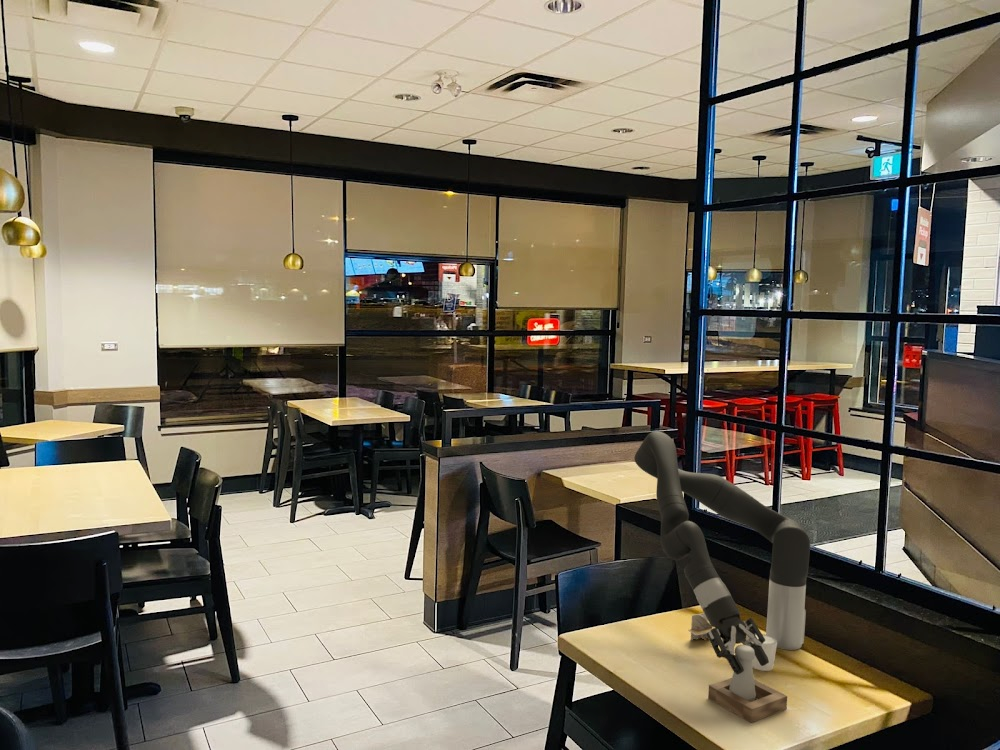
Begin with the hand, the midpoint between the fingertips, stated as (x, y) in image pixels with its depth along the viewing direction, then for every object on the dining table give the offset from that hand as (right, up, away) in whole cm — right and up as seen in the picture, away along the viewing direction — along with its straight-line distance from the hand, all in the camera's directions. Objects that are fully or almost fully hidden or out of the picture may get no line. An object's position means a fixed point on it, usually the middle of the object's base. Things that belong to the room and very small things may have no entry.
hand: (753, 668), depth 167 cm
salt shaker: (-2, -9, +2) cm, 9 cm away
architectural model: (-2, -7, +35) cm, 36 cm away
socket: (-1, -8, +2) cm, 9 cm away
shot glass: (+9, -8, +21) cm, 24 cm away
